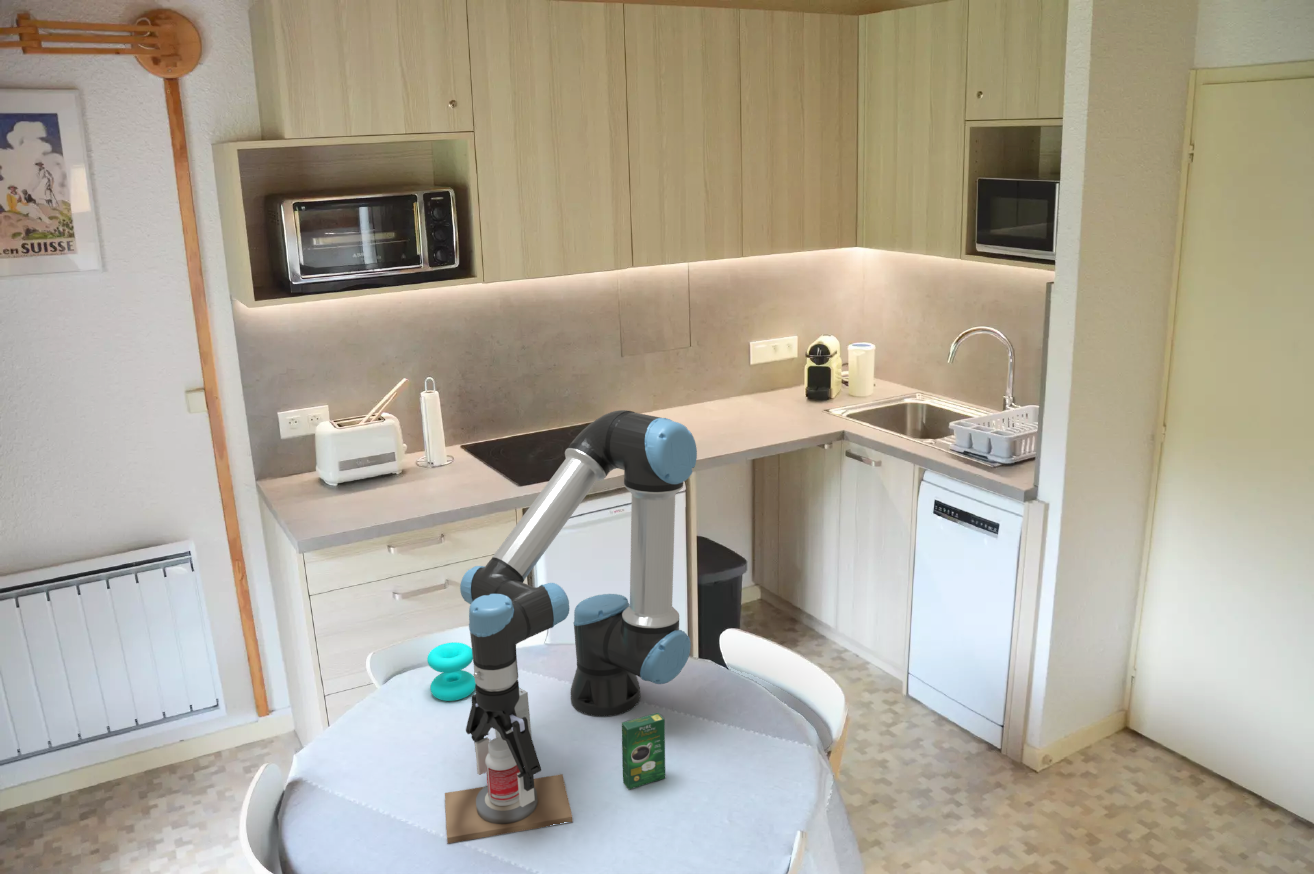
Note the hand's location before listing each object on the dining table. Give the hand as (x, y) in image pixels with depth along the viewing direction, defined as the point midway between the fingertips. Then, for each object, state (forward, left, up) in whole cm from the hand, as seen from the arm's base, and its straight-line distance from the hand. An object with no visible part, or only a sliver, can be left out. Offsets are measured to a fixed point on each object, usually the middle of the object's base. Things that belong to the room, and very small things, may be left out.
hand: (505, 786), depth 187 cm
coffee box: (-26, -2, -5) cm, 27 cm away
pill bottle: (0, 0, -2) cm, 2 cm away
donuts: (+8, -45, -5) cm, 46 cm away
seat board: (0, 0, -5) cm, 5 cm away
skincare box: (-3, -20, -5) cm, 21 cm away
